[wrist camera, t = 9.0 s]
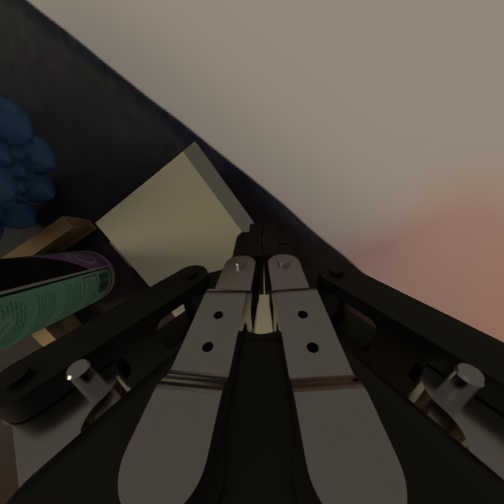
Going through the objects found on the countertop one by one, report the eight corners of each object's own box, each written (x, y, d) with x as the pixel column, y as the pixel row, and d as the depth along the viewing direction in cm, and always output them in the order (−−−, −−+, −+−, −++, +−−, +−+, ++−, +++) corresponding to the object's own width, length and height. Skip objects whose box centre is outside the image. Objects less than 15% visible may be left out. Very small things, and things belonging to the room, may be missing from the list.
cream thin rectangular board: (90, 226, 19) (195, 141, 18) (101, 226, 21) (199, 146, 20) (226, 384, 22) (324, 320, 21) (227, 374, 24) (320, 314, 23)
